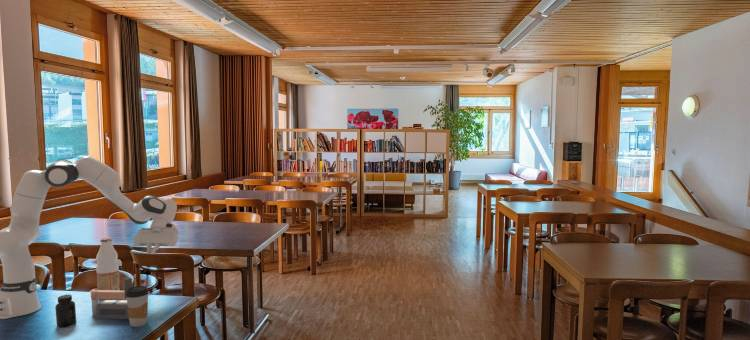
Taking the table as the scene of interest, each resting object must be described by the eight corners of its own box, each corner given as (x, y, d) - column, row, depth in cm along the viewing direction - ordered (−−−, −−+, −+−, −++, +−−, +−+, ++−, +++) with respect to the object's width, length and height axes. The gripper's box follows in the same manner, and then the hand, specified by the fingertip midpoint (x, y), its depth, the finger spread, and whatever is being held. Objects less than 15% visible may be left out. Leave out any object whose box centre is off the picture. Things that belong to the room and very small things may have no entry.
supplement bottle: (72, 320, 196) (71, 292, 195) (78, 324, 192) (77, 295, 191) (54, 325, 191) (52, 296, 190) (59, 329, 186) (58, 300, 185)
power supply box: (87, 318, 197) (87, 301, 197) (97, 313, 203) (96, 296, 203) (128, 319, 196) (127, 301, 196) (136, 313, 203) (136, 296, 202)
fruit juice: (98, 299, 220) (96, 241, 218) (96, 294, 228) (93, 238, 226) (121, 295, 226) (118, 239, 224) (118, 290, 233) (115, 235, 231)
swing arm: (89, 298, 198) (88, 279, 198) (93, 296, 201) (92, 277, 201) (130, 299, 198) (129, 279, 197) (134, 297, 201) (133, 277, 200)
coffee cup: (140, 329, 187) (138, 292, 185) (122, 327, 188) (120, 291, 187) (154, 320, 195) (152, 286, 194) (136, 319, 196) (135, 284, 195)
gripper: (136, 224, 224) (125, 249, 215) (177, 224, 223) (168, 249, 214) (141, 231, 229) (131, 256, 220) (182, 232, 228) (173, 256, 219)
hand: (150, 253), depth 217 cm, fingers closed
